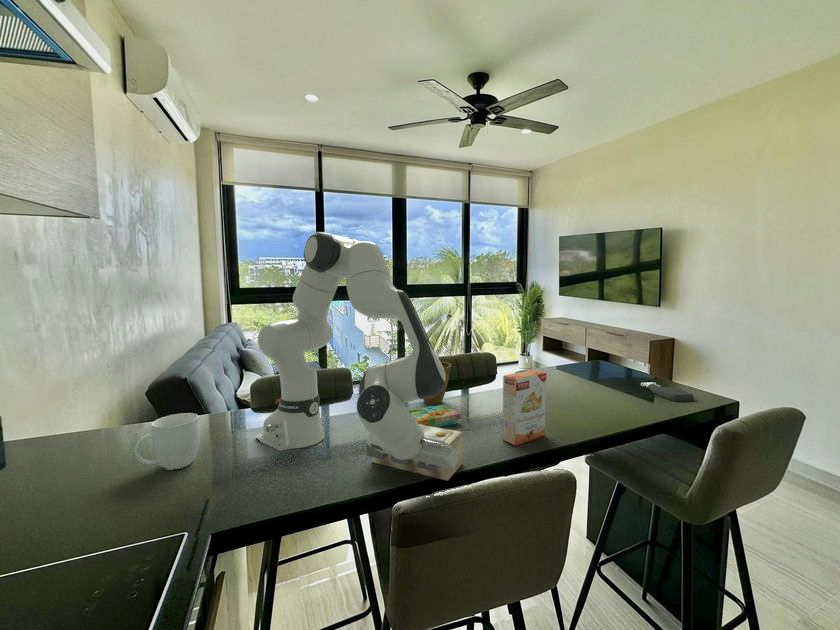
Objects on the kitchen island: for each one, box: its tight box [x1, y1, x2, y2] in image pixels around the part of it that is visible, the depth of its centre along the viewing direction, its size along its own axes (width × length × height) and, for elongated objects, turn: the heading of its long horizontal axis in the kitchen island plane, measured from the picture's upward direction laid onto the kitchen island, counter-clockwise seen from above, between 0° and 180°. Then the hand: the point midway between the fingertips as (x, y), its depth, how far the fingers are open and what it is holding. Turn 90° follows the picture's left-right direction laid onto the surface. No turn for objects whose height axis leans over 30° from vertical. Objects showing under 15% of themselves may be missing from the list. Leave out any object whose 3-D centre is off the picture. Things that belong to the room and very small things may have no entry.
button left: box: [366, 443, 388, 459], centre depth 100 cm, size 5×2×4 cm, turn 62°
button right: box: [417, 463, 440, 471], centre depth 94 cm, size 5×2×4 cm, turn 62°
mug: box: [134, 412, 201, 468], centre depth 104 cm, size 15×11×13 cm
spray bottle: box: [640, 381, 695, 402], centre depth 166 cm, size 3×11×24 cm
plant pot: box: [422, 360, 452, 406], centre depth 157 cm, size 15×15×16 cm
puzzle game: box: [408, 404, 462, 428], centre depth 134 cm, size 12×5×20 cm
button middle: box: [391, 455, 413, 465], centre depth 97 cm, size 5×2×4 cm, turn 62°
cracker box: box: [501, 369, 547, 447], centre depth 119 cm, size 14×6×21 cm, turn 123°
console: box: [371, 424, 463, 482], centre depth 104 cm, size 23×10×10 cm, turn 62°
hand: (424, 461), depth 92 cm, fingers closed, pressing on button right
